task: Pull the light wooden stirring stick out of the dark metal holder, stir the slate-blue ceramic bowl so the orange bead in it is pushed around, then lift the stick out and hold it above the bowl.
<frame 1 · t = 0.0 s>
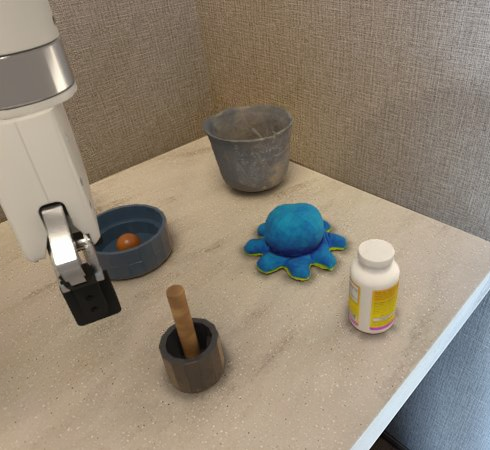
hand: (92, 279, 37), 24 cm above the worktop, tool pointing down, fingers open, 9 cm apart
stick: (196, 366, 58), resting on holder
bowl: (255, 187, 96), on the worktop
bead: (128, 244, 76), point 3 cm above the worktop, touching mixing bowl
holder: (197, 369, 58), on the worktop
mug: (71, 232, 85), on the worktop
mixing bowl: (132, 254, 78), on the worktop
supplement bottle: (370, 318, 65), on the worktop
plush toy: (295, 248, 78), on the worktop
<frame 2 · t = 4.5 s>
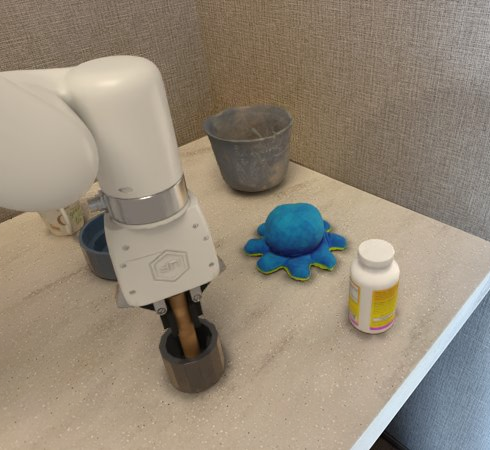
hand: (184, 323, 53), 9 cm above the worktop, tool pointing down, fingers closed on stick, 2 cm apart
stick: (196, 366, 58), point 1 cm above the worktop, touching gripper, holder
everything else where it was.
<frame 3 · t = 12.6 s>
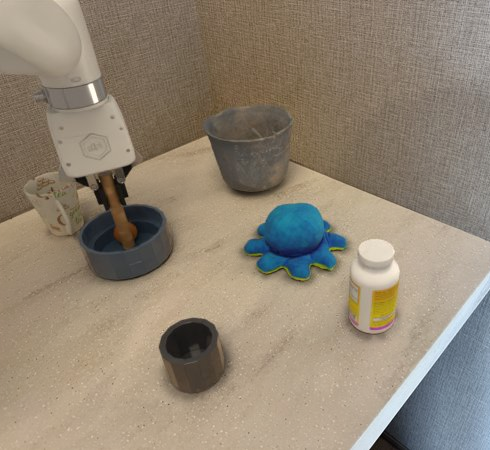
hand: (114, 203, 72), 11 cm above the worktop, tool pointing down, fingers closed on stick, 2 cm apart
stick: (129, 245, 76), point 2 cm above the worktop, touching gripper
bead: (125, 232, 79), point 3 cm above the worktop, tilted 110°, touching mixing bowl
everything else where it was.
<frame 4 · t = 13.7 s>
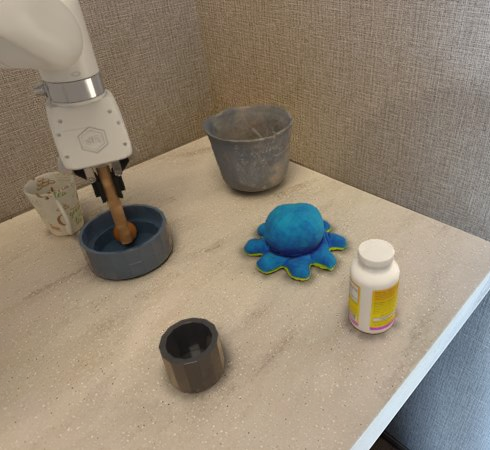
hand: (112, 196, 74), 11 cm above the worktop, tool pointing down, fingers closed on stick, 2 cm apart
stick: (127, 241, 77), point 3 cm above the worktop, tilted 10°, touching bead, gripper
bead: (125, 232, 79), point 3 cm above the worktop, tilted 114°, touching mixing bowl, stick
everything else where it was.
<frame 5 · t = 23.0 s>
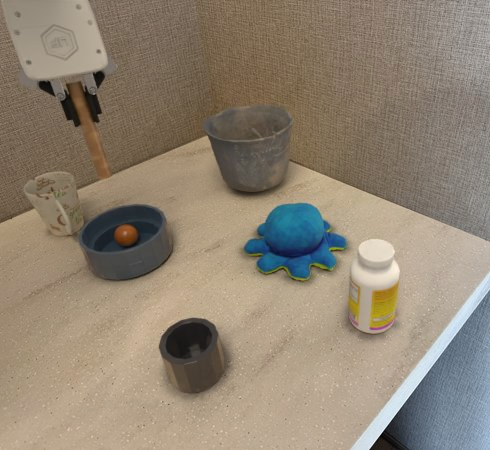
hand: (86, 120, 63), 25 cm above the worktop, tool pointing down, fingers closed on stick
stick: (105, 177, 67), point 17 cm above the worktop, tilted 10°, touching gripper
bead: (126, 235, 79), point 3 cm above the worktop, tilted 83°, touching mixing bowl
everything else where it was.
at the end: bead moved 2.9 cm from its start; bead inside the target area in the mixing bowl (2.4 cm from its centre), point 2.6 cm above the mixing bowl's base; stick point 16.8 cm above the worktop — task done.
